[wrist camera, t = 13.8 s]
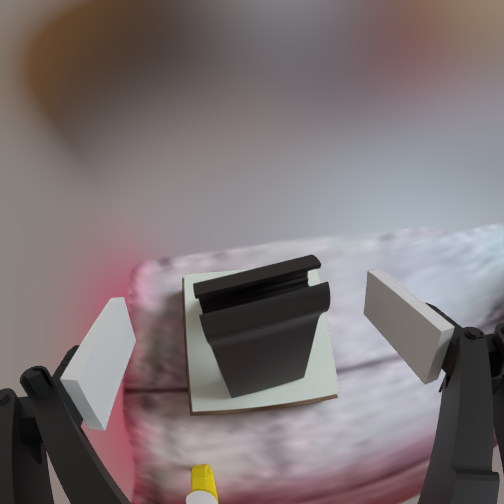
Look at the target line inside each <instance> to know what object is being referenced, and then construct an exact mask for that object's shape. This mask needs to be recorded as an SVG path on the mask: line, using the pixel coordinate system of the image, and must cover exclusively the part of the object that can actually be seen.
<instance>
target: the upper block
mask: <svg viewBox="0 0 504 504" xmlns="http://www.w3.org/2000/svg"><path fill="white" fill-rule="evenodd" d="M247 270H251V269H245V270H234V271H222V272H210V273H198V274H185V275H184V288H185V316H186V336H187V352H188V366H189V379H190V390H191V401H192V411H193V412H196V411H217V410H231V409H243V408H253V407H262V406H270V405H277V404H284V403H291V402H297V401H303V400H309V399H314V398H319V397H324V396H329V395H334V394H339V388H338V381H337V375H336V368H335V362H334V356H333V350H332V344H331V338H330V333H329V327H328V322H327V316H326V312H324V313H322V314H321V315H320V317H319V320H318V323H317V328H316V332H315V336H314V341H313V345H312V349H311V353H310V357H309V361H308V365H307V369H306V372H305V376H304V378H302V379H299V380H296V381H293V382H290V383H286V384H283V385H280V386H276V387H273V388H269V389H266V390H262V391H259V392H255V393H251V394H247V395H244V396H240V397H235V398H231V395H230V393H229V391H228V388H227V386H226V383H225V381H224V379H223V376H222V374H221V371H220V369H219V366H218V364H217V361H216V359H215V356H214V353H213V351H212V348H211V346H210V345H209V344H208V343H207V341H206V338H205V335H204V332H203V329H202V325H201V322H200V318H199V315H201V314H202V309H201V306H200V302H199V299H195V296H194V290H193V283H197V282H201V281H205V280H210V279H214V278H218V277H222V276H227V275H231V274H235V273H239V272H243V271H247ZM308 284H309V286H314V285H317V284H320V281H319V276H318V271H317V269H314V270H310V271H308Z"/></svg>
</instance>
